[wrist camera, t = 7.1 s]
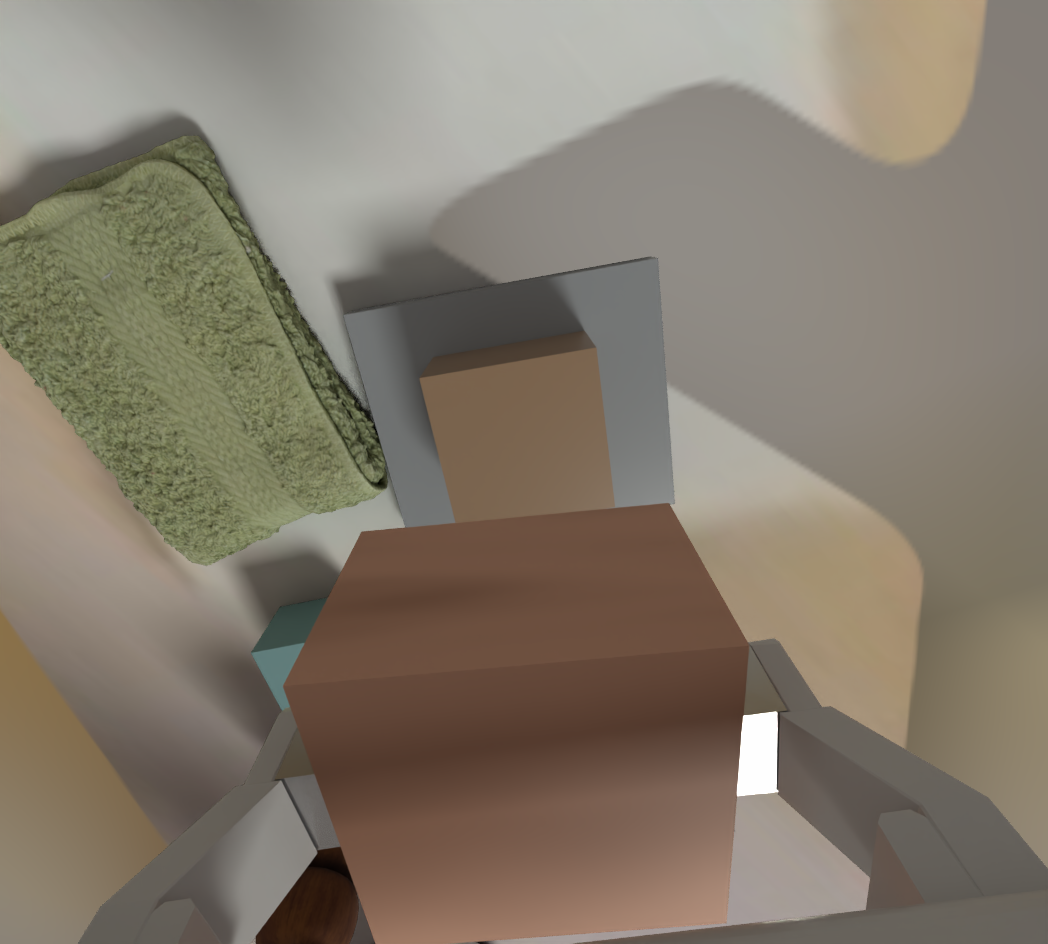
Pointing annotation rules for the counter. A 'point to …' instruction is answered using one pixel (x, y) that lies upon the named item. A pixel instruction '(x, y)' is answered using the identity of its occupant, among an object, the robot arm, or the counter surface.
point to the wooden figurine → (316, 905)
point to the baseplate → (515, 318)
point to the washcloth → (182, 354)
